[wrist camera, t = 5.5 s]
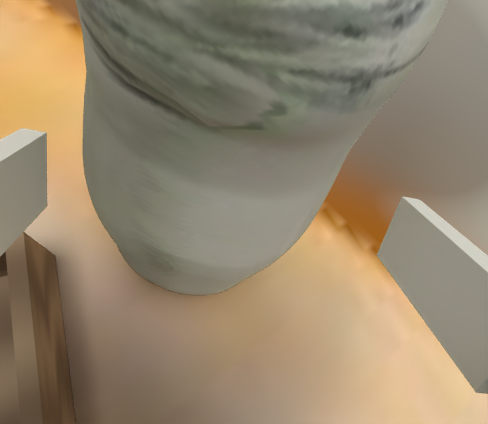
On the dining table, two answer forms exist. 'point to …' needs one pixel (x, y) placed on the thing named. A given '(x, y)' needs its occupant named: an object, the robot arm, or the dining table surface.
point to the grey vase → (231, 121)
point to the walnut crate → (32, 338)
